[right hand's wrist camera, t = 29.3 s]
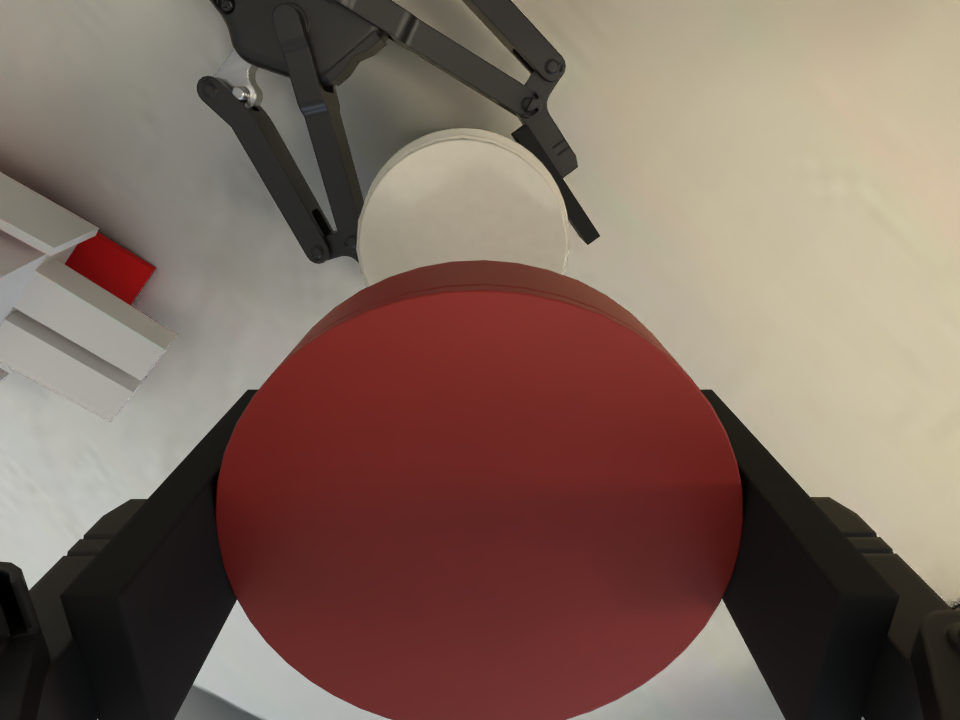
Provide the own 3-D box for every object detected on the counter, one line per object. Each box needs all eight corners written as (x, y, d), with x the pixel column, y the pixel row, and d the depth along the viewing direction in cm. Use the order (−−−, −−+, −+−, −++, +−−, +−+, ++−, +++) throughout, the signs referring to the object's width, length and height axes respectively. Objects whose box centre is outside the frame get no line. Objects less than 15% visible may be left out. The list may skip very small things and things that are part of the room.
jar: (456, 98, 35) (440, 71, 19) (562, 188, 37) (625, 230, 21) (376, 211, 37) (304, 269, 22) (479, 291, 39) (482, 397, 23)
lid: (574, 685, 15) (591, 781, 13) (212, 565, 13) (159, 649, 11) (784, 371, 12) (854, 425, 10) (345, 177, 10) (309, 188, 8)
